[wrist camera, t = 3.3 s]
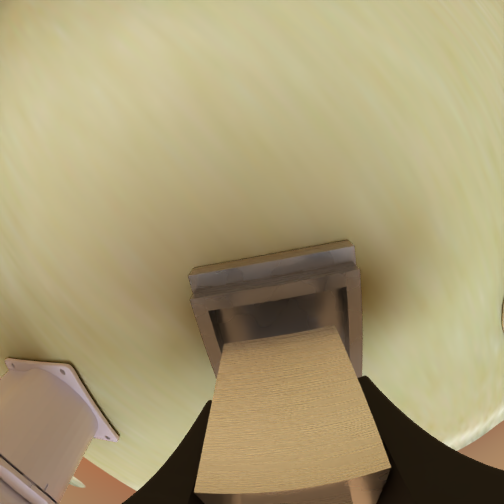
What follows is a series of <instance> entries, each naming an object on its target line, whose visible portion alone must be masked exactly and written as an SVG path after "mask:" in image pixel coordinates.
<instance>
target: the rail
mask: <svg viewBox="0 0 504 504" xmlns="http://www.w3.org/2000/svg"><path fill="white" fill-rule="evenodd" d="M188 278H189V281H190V285H191V288H192V292H193V294H192V296H191V298H190V302H191V305H192V308H193V311H194V315H195V318H196V321H197V324H198V327H199V330H200V333H201V336H202V339H203V342H204V345H205V348H206V351H207V354H208V356H209V359H210V362H211V365H212V368H213V370H214V373H215V376H216V379H217V375H218V371H219V366H220V361H221V356H222V351H223V347H224V344H225V343H233V342H240V341H247V340H254V339H261V338H267V337H273V336H279V335H285V334H291V333H296V332H301V331H307V330H312V329H317V328H322V327H327V326H331V325H335V327H336V329H337V331H338V334H339V336H340V338H341V340H342V343H343V345H344V347H345V350H346V352H347V355H348V357H349V359H350V362H351V364H352V366H353V369H354V371H355V374H356V376H357V378H358V377H362V297H361V278H360V269H359V268H358V267H357V266H356V257H355V246H354V245H353V244H352V243H351V242H349V241H348V240H345V241H339V242H334V243H328V244H323V245H318V246H312V247H307V248H301V249H296V250H290V251H285V252H279V253H274V254H268V255H263V256H257V257H252V258H246V259H241V260H235V261H230V262H224V263H219V264H213V265H207V266H202V267H196V268H193V269H192V271H191V272H190V274H189V275H188Z"/></svg>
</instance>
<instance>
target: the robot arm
mask: <svg viewBox="0 0 504 504" xmlns="http://www.w3.org/2000/svg"><path fill="white" fill-rule="evenodd" d="M5 364H6V366H7V367H8V369H9V370H8V371H7V372H6V373H5V374H4V375H3V376H2V377H1V378H0V504H59V503H60V501H61V499H62V496H63V494H64V492H65V490H66V488H67V486H68V484H69V482H70V480H71V478H72V476H73V475H74V472H75V471H76V469H77V467H78V465H79V463H80V461H81V459H82V457H83V455H84V454H85V452H86V450H87V448H88V446H89V444H90V442H91V441H92V439H93V438H97V439H102V440H108V441H113V442H117V441H118V440H119V436H118V435H117V434H116V432H115V431H114V430H113V428H112V427H111V426H110V424H109V423H108V421H107V420H106V419H105V417H104V416H103V414H102V413H101V412H100V410H99V409H98V407H97V406H96V404H95V403H94V401H93V400H92V398H91V397H90V395H89V393H88V392H87V390H86V389H85V387H84V385H83V384H82V382H81V380H80V379H79V377H78V375H77V374H76V372H75V370H74V368H73V367H72V366H71V365H69V364H65V363H50V362H39V361H29V360H20V359H12V358H6V359H5ZM357 379H358V381H359V383H360V386H361V388H362V391H363V393H364V396H365V398H366V401H367V403H368V406H369V409H370V411H371V414H372V416H373V419H374V422H375V424H376V427H377V430H378V432H379V435H380V438H381V440H382V443H383V446H384V449H385V451H386V454H387V457H388V460H389V463H390V465H391V469H390V472H389V474H388V477H387V480H386V482H385V485H384V487H383V489H382V492H381V494H380V496H379V499H378V501H377V503H376V504H504V471H503V470H500V469H497V468H494V467H491V466H488V465H485V464H483V463H481V462H478V461H476V460H474V459H472V458H469V457H467V456H465V455H463V454H461V453H459V452H457V451H455V450H454V449H452V448H450V447H448V446H447V445H445V444H443V443H442V442H440V441H439V440H437V439H436V438H434V437H433V436H431V435H430V434H429V433H427V432H426V431H425V430H423V429H422V428H421V427H419V426H418V425H417V424H416V423H414V422H413V421H412V420H411V419H410V418H408V417H407V416H406V415H405V414H404V413H403V412H402V411H401V410H399V409H398V408H397V407H396V406H395V405H394V404H393V403H392V402H391V401H390V400H389V399H388V398H387V397H386V396H385V395H384V394H383V393H382V392H381V391H380V390H379V389H378V388H377V387H376V385H375V384H374V383H373V382H372V381H371V380H370V379H369V378H368V377H367V376H362V377H358V378H357ZM211 404H212V400H209V401H208V402H207V403H206V405H205V406H204V408H203V410H202V411H201V413H200V414H199V416H198V418H197V419H196V421H195V422H194V424H193V426H192V427H191V429H190V430H189V432H188V433H187V435H186V436H185V437H184V439H183V440H182V442H181V443H180V444H179V446H178V447H177V449H176V450H175V451H174V452H173V454H172V455H171V456H170V457H169V459H168V460H167V461H166V462H165V464H164V465H163V466H162V467H161V468H160V469H159V470H158V472H157V473H156V474H155V475H154V476H153V477H152V478H151V479H150V480H149V481H148V482H147V483H146V484H145V485H144V486H143V487H141V488H140V489H139V490H138V491H137V492H136V493H134V494H133V495H132V496H131V497H130V498H128V499H127V500H126V501H125V502H123V503H122V504H205V503H204V502H203V501H202V500H201V499H200V498H199V497H198V496H197V495H196V494H195V493H194V489H195V484H196V479H197V474H198V469H199V464H200V459H201V454H202V449H203V444H204V439H205V434H206V429H207V424H208V419H209V414H210V409H211Z"/></svg>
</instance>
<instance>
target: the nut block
mask: <svg viewBox="0 0 504 504" xmlns="http://www.w3.org/2000/svg"><path fill="white" fill-rule="evenodd" d="M390 469H391V465H390V463H389V460H388V457H387V454H386V451H385V449H384V446H383V443H382V440H381V438H380V435H379V432H378V430H377V427H376V424H375V422H374V419H373V416H372V414H371V411H370V409H369V406H368V403H367V401H366V398H365V396H364V393H363V391H362V388H361V386H360V383H359V381H358V379H357V376H356V374H355V371H354V369H353V366H352V364H351V362H350V359H349V357H348V355H347V352H346V350H345V347H344V345H343V343H342V340H341V338H340V336H339V334H338V331H337V329H336V327H335V325H331V326H327V327H322V328H317V329H312V330H307V331H301V332H296V333H291V334H285V335H279V336H273V337H267V338H261V339H254V340H247V341H240V342H233V343H225V344H224V347H223V351H222V356H221V361H220V366H219V371H218V375H217V380H216V385H215V390H214V395H213V400H212V404H211V409H210V414H209V419H208V424H207V429H206V434H205V439H204V444H203V449H202V454H201V459H200V464H199V469H198V474H197V479H196V484H195V489H194V493H195V494H196V495H197V496H198V497H199V498H200V499H201V500H202V501H203V502H204V503H205V504H376V503H377V501H378V499H379V496H380V494H381V492H382V489H383V487H384V485H385V482H386V480H387V477H388V474H389V472H390Z"/></svg>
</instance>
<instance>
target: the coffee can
mask: <svg viewBox="0 0 504 504" xmlns="http://www.w3.org/2000/svg"><path fill="white" fill-rule="evenodd" d="M502 326H503V331H504V303H503V313H502Z"/></svg>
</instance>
